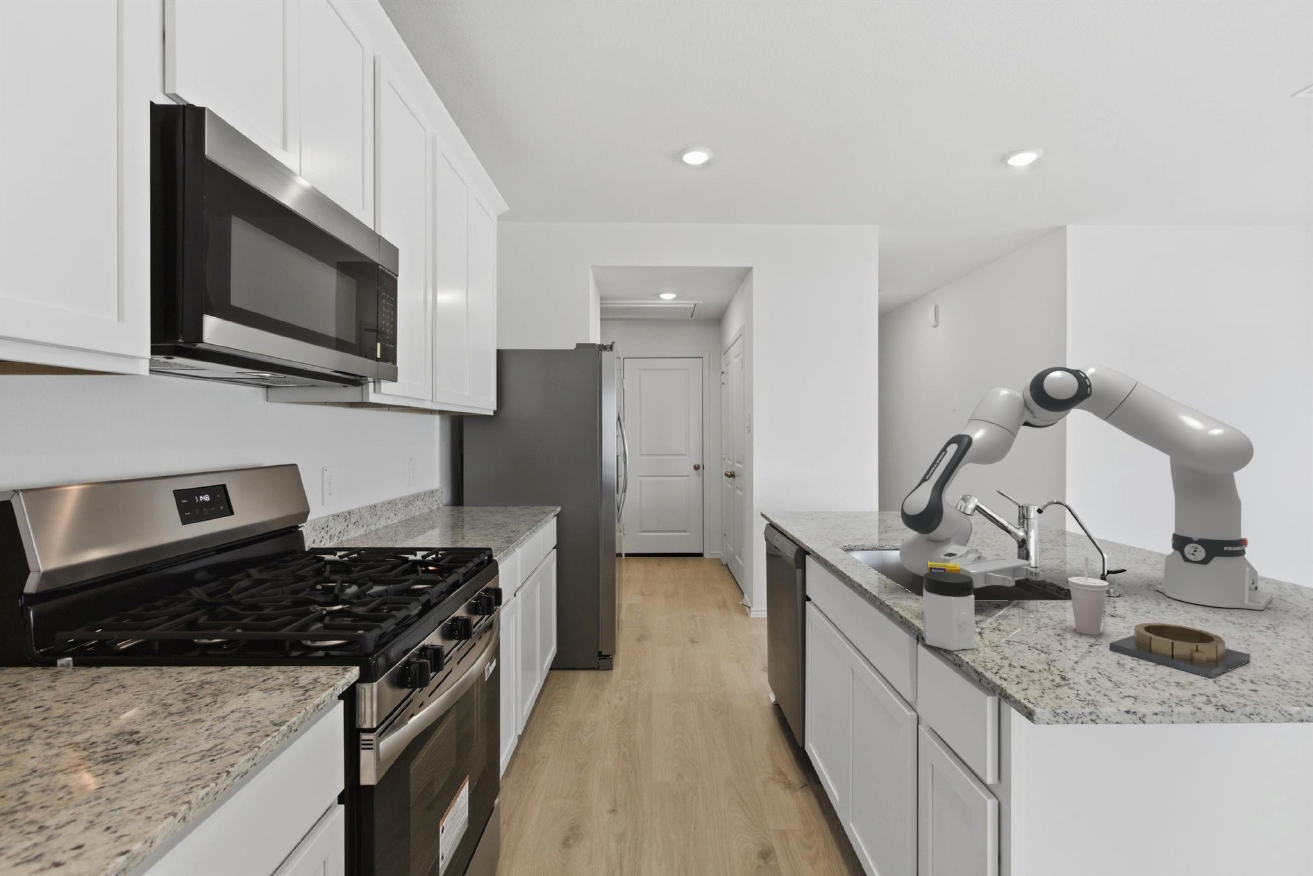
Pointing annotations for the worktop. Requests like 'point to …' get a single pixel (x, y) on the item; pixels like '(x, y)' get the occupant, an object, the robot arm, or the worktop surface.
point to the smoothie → (1088, 602)
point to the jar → (948, 610)
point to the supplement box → (942, 567)
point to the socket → (1180, 648)
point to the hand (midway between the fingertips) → (1026, 579)
